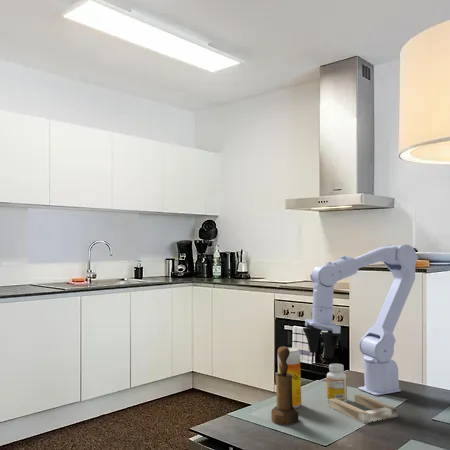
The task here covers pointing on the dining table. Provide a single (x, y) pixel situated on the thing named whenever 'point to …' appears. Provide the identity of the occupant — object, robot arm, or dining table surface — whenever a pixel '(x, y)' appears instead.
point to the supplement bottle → (336, 383)
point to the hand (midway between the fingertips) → (320, 355)
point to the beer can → (294, 374)
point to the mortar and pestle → (284, 393)
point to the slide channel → (375, 414)
